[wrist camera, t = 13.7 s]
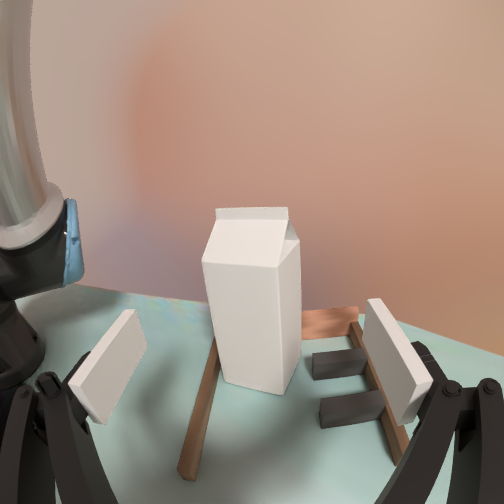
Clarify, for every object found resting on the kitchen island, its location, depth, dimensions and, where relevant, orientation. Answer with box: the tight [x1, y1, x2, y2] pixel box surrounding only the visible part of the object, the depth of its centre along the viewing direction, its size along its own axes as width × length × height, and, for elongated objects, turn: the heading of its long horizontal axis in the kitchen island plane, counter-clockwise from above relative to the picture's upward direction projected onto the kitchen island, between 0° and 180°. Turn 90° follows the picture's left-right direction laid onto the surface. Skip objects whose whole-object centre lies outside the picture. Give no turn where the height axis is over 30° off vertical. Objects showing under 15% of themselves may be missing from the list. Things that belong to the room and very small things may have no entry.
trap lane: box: [177, 306, 410, 481], centre depth 26 cm, size 19×22×4 cm
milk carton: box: [202, 207, 301, 395], centre depth 28 cm, size 7×7×19 cm
